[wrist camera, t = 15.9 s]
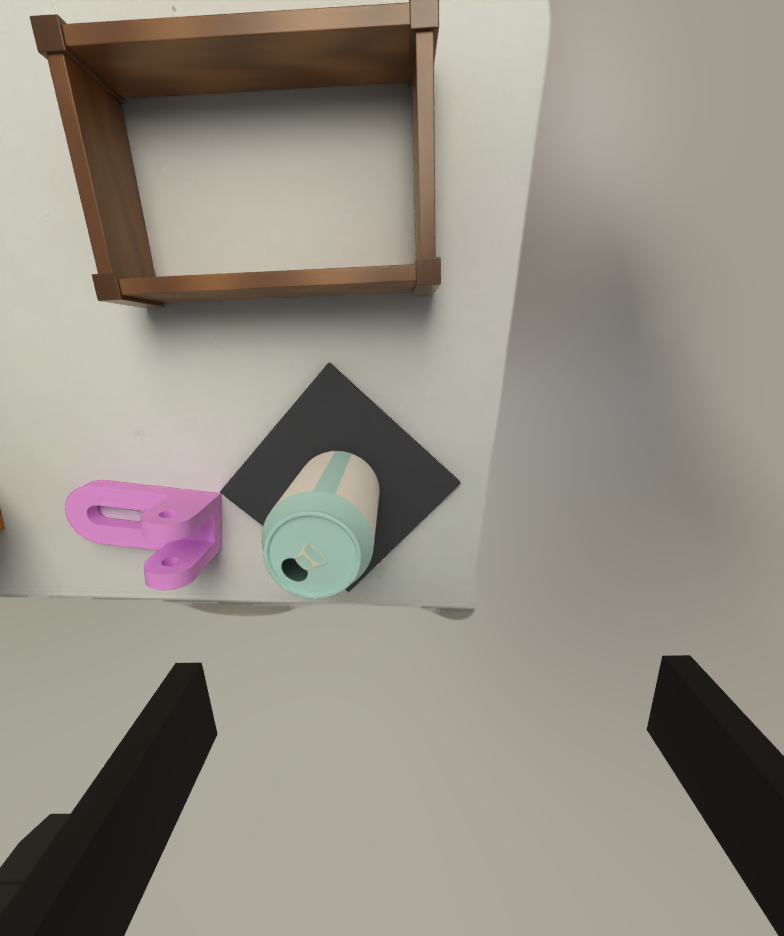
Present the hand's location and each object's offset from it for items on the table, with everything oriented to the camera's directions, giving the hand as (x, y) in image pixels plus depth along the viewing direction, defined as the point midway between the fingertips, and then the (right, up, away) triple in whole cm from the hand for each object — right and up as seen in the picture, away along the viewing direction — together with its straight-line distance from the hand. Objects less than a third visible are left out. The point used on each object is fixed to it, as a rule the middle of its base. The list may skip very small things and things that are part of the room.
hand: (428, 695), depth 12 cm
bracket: (-23, +3, +25) cm, 34 cm away
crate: (-9, +27, +17) cm, 33 cm away
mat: (-6, +5, +24) cm, 25 cm away
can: (-6, +5, +23) cm, 25 cm away
